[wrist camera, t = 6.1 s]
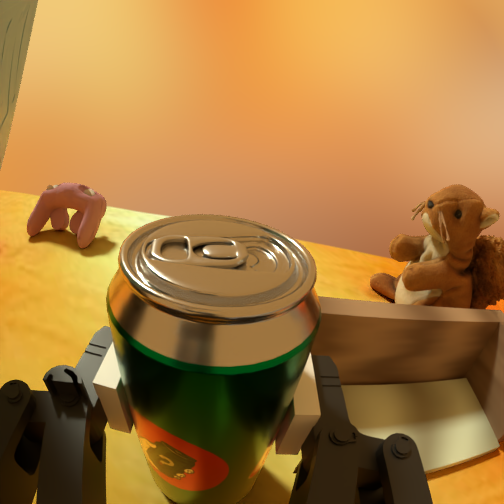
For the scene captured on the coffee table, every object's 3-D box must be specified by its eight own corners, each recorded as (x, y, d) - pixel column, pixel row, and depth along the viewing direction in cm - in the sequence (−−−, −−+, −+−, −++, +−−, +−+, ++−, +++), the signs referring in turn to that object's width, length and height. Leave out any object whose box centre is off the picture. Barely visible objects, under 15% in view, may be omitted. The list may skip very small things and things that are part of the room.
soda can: (264, 507, 10) (378, 318, 5) (155, 514, 9) (70, 322, 4) (244, 425, 15) (292, 213, 9) (150, 428, 14) (123, 205, 8)
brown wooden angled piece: (264, 491, 11) (295, 439, 9) (263, 367, 19) (281, 292, 16) (506, 445, 12) (559, 389, 9) (465, 367, 20) (500, 310, 17)
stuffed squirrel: (361, 281, 31) (396, 159, 25) (462, 298, 30) (501, 196, 25) (382, 346, 22) (444, 185, 16) (497, 352, 22) (557, 231, 16)
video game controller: (104, 250, 32) (115, 190, 32) (82, 249, 28) (95, 181, 28) (44, 236, 33) (55, 183, 33) (22, 234, 28) (33, 175, 28)
